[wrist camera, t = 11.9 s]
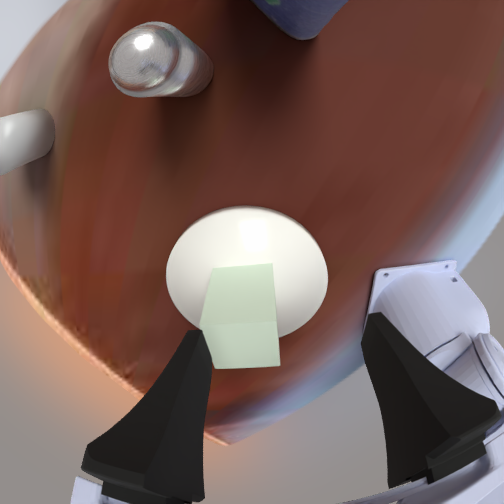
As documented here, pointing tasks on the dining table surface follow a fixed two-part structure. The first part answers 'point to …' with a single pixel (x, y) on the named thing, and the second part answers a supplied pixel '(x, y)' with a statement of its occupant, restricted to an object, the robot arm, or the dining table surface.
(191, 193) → the dining table surface
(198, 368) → the robot arm
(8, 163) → the white rounded domed part
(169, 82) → the salt shaker
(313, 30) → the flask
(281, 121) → the dining table surface
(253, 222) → the plate
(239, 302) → the sage block
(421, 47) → the dining table surface
